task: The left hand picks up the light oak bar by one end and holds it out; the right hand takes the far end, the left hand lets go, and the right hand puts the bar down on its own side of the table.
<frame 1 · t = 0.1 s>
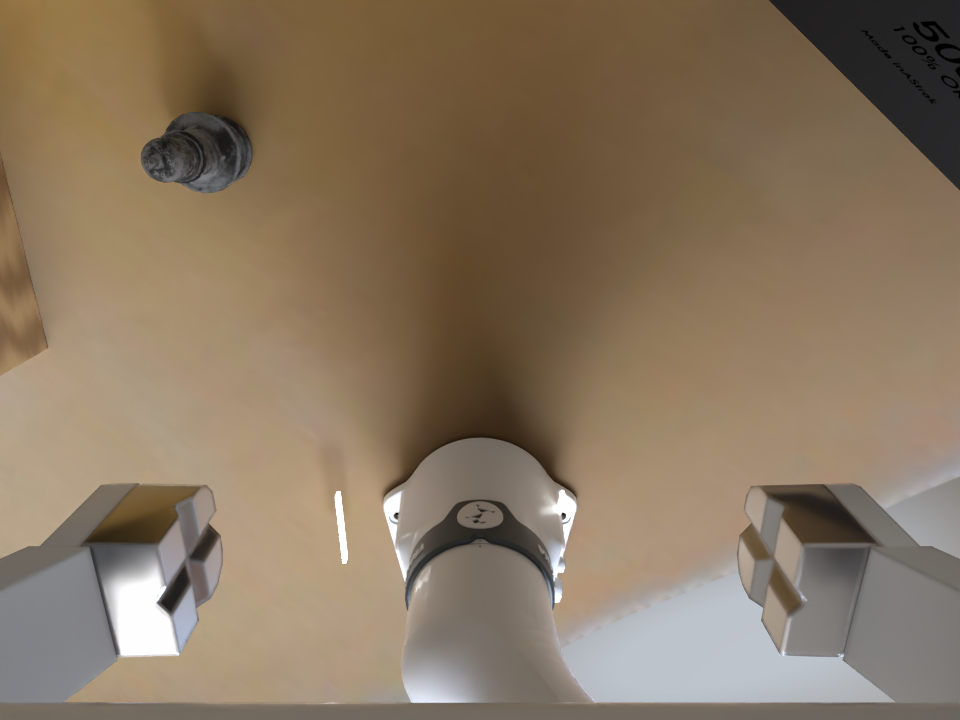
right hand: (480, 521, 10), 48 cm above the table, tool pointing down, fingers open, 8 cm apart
weathered chess pawn: (219, 150, 54), on the table
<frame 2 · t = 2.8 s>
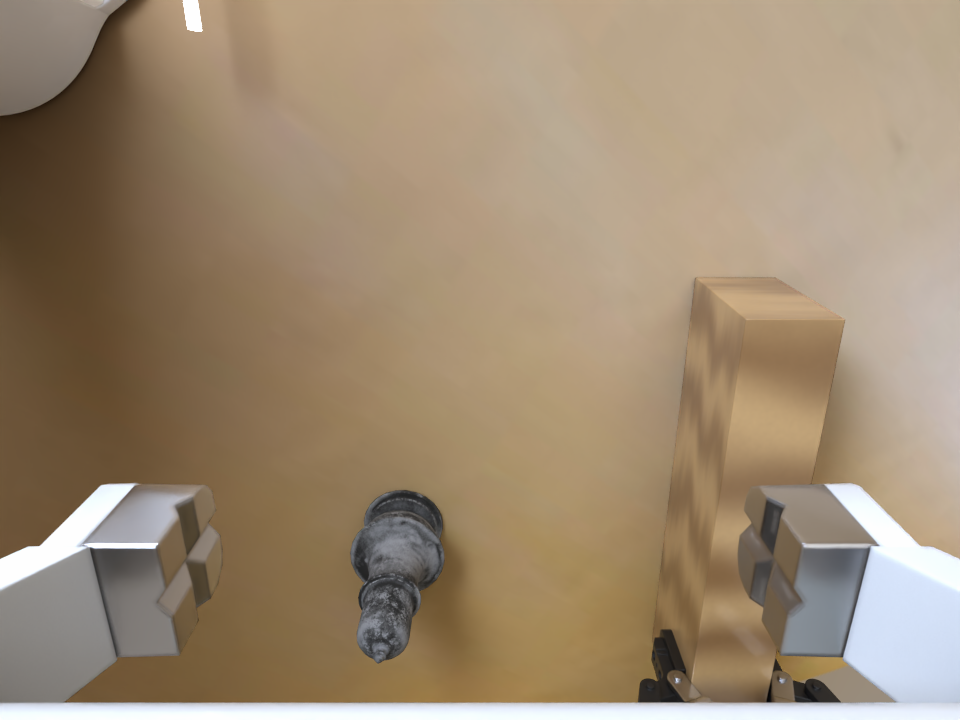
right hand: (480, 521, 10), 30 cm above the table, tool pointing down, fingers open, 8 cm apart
weathered chess pawn: (403, 522, 45), on the table
bar: (706, 479, 44), on the table, touching left hand
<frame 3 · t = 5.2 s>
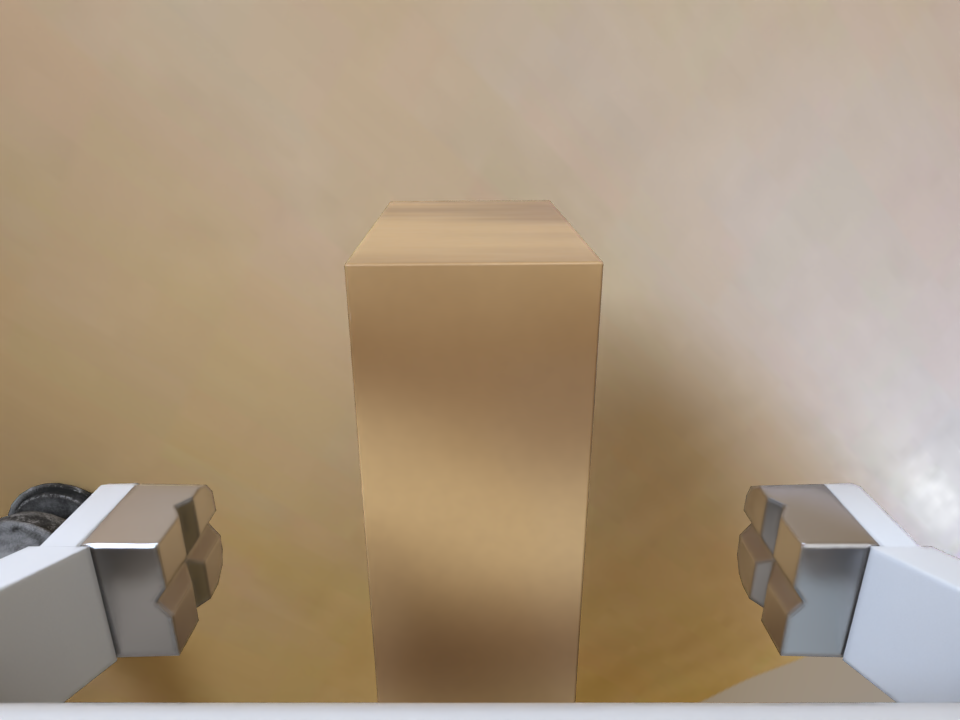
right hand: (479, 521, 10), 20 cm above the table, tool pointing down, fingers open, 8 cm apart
weathered chess pawn: (67, 527, 33), on the table
bar: (473, 578, 25), point 8 cm above the table, touching left hand
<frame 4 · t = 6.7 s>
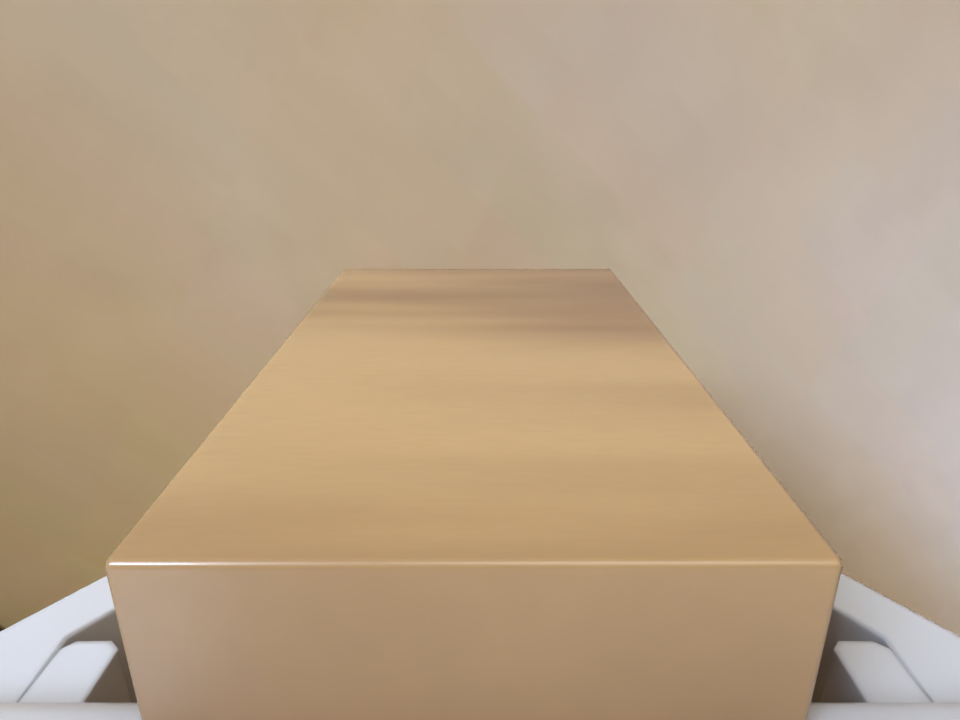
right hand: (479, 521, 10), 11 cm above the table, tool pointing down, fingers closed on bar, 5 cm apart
when the left hand's fingers open (12 cm above the table, at t = 7.7 s): bar stays where it is, held by the right hand.
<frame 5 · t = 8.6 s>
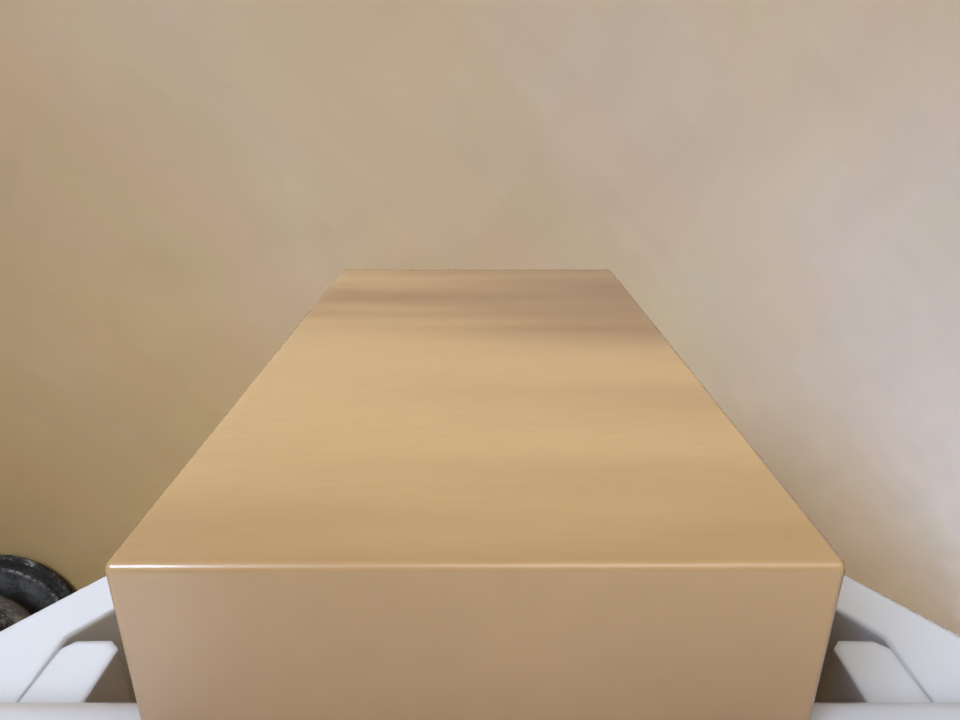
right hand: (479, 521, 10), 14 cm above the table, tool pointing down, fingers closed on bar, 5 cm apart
weathered chess pawn: (20, 603, 28), on the table
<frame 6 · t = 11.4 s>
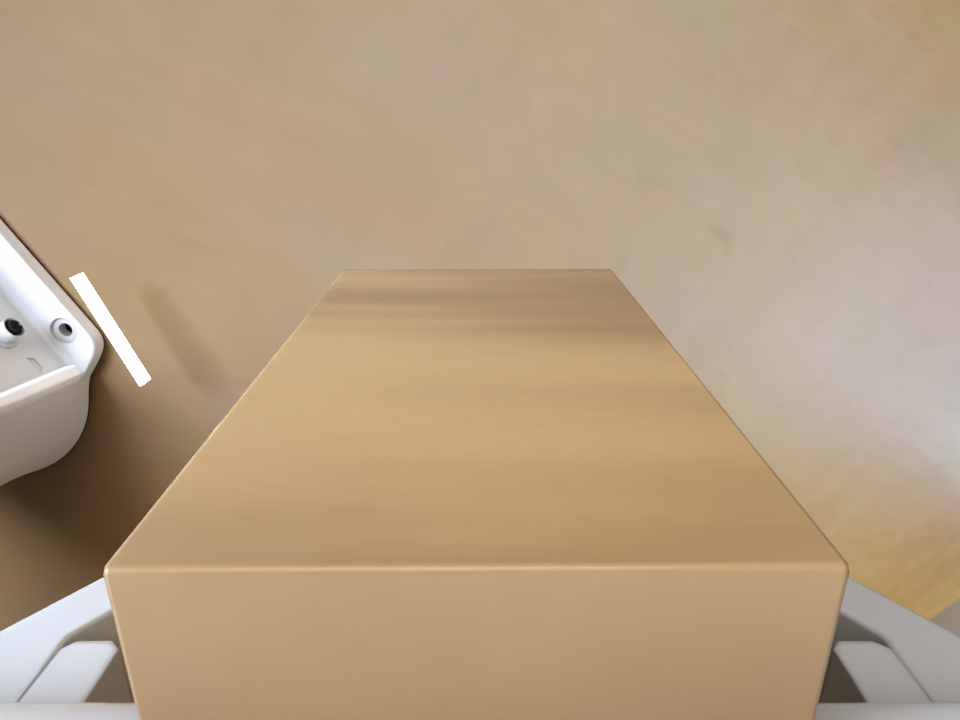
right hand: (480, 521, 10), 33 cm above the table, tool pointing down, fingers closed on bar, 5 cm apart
when the right hand's fingers open (4 cm above the table, at t = 16.1 s): bar drops 1 cm, on the table.
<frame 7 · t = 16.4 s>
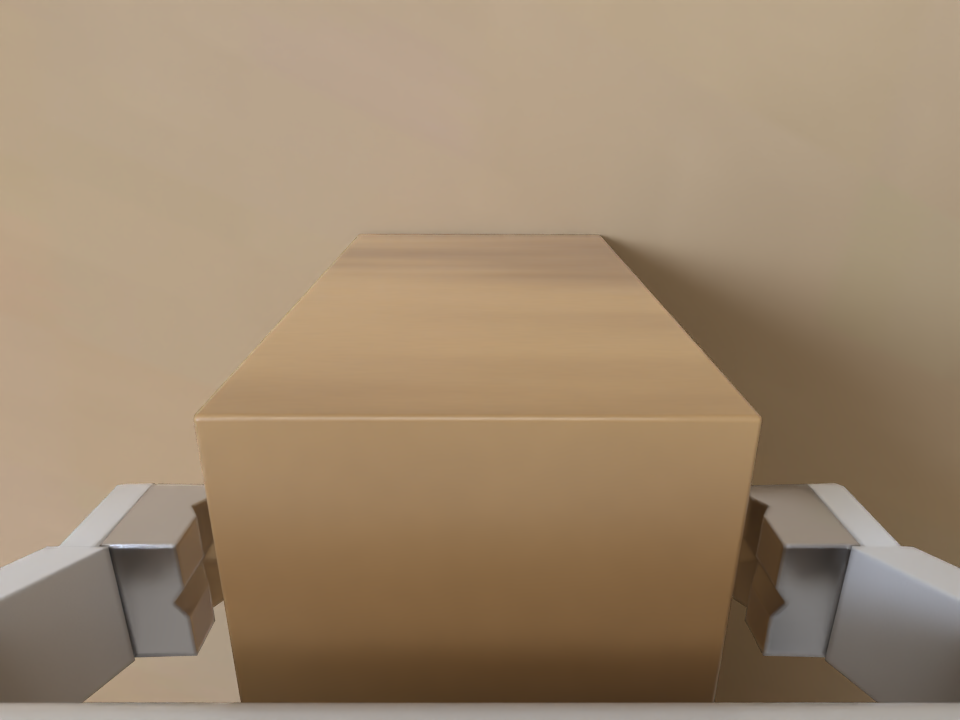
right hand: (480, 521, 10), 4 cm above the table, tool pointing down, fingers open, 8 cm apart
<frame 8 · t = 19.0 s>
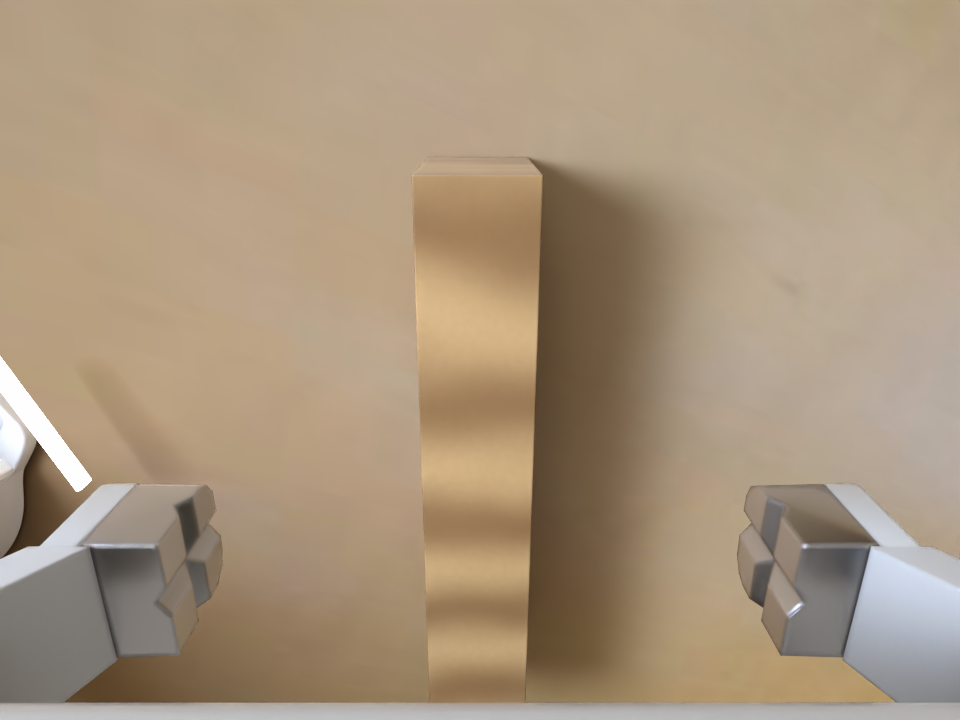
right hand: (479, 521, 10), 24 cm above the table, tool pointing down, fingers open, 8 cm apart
bar: (477, 418, 36), on the table
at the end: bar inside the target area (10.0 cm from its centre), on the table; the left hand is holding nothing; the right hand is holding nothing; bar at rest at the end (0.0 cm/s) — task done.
